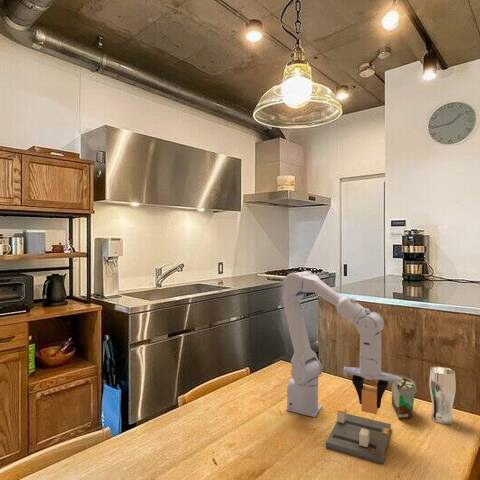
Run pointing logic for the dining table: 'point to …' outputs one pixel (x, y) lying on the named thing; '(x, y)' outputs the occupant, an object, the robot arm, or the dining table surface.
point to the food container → (403, 397)
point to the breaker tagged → (341, 414)
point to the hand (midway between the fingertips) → (370, 404)
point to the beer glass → (442, 394)
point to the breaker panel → (348, 438)
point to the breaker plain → (364, 437)
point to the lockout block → (369, 399)
